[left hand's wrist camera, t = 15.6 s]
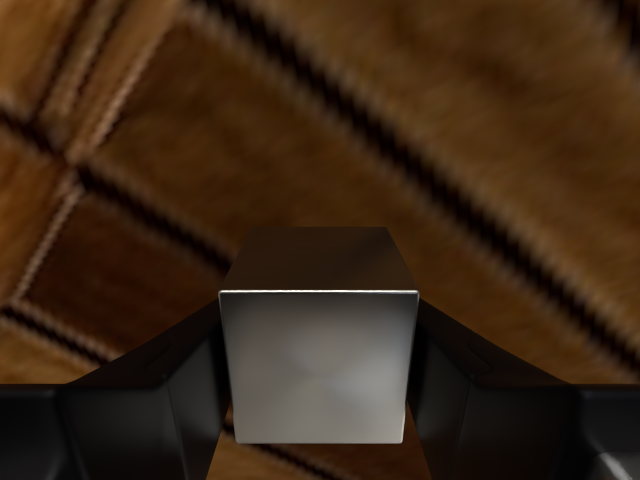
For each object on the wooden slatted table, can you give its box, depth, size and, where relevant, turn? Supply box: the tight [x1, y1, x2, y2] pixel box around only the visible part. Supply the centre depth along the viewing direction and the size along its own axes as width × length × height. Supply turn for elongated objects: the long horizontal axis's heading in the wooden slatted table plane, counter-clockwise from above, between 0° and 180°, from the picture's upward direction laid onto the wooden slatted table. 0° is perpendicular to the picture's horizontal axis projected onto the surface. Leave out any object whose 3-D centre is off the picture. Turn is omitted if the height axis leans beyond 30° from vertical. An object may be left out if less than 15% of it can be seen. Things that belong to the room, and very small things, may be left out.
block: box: [218, 227, 420, 443], centre depth 11 cm, size 4×5×4 cm
